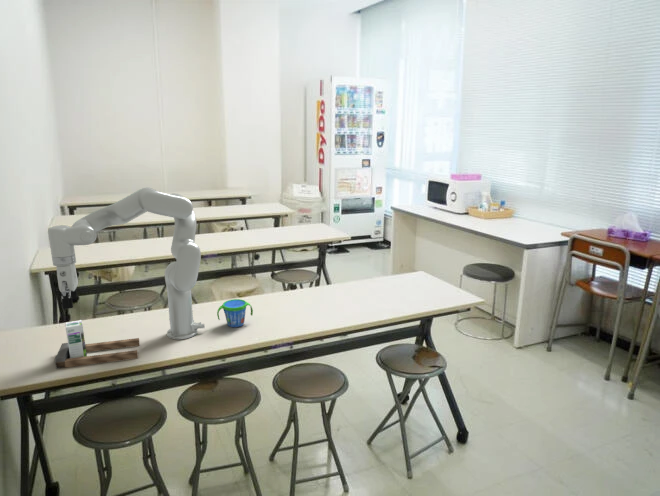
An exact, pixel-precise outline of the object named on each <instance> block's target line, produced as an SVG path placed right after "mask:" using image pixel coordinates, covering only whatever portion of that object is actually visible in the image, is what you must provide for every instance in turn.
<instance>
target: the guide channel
mask: <svg viewBox="0 0 660 496" xmlns="http://www.w3.org/2000/svg"><path fill="white" fill-rule="evenodd" d="M140 345H141V344H140V338H139V337H136V338H127V339H120V340H113V341H111V340H110V341H103V342H93V343H85V346H86V353H90V352H91V353H92V352H98V351H99V352H100V351H108V350H114V349H115V350H116V349H122V348H124V349H125V348H132V347H139V346H140ZM133 359H139V353H138V350H137V349H136V350H135V349H134V350H125V351H120V352H119V351H118V352H112V353H111V352H110V353H104V354H103V353H102V354H95V355H87V356H85V357H77V358H70V354H69V347H68V342H64V343H61V345H60V347H59V350H58V352H57V353H56V356H55V358H54V362H55V368H56V369H57V370H58V369H65V368H73V367H79V366H89V365H95V364H104V363H111V362H121V361H126V360H127V361H128V360H133Z"/></svg>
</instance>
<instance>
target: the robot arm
mask: <svg viewBox="0 0 660 496" xmlns="http://www.w3.org/2000/svg"><path fill="white" fill-rule="evenodd" d="M147 212H148V213H150V214H156V215H158V216H159V215H160V216H164V217H169V218H173V220H174V229H173V236H172V242H171V247H170V253H171V254H172V256H173V257H174V259H175V260H176V261H174V262H173V261H172V262H171V263H169V264H168V265H167V266H166V268H165V270H164V281H165V285H166V291H167V292H166V293H167V304H168V318H169V328H168V329H167V332H166V336H167V337H168V338H169V339H172V340H185V339H190V338H193V337H195V336H196V335H197V334H198V331H199V329H205V323H202V322H195V320H194V316H193V314H194V313H193V312H194V311H193V300H192V289H193V288H194V287H195V286H196V283H197V281H198V277H199V271H200V266H201V260H202V259H201V258H202V251H201V249H200V247H199V246H198V244H197V243H195V240H196V239H195V238H196V233H197V232H196V231H197V218H196V212H195V211H194V205H193V203H192V201H191V200H190V199H189V198H187V197H185V196H183V195H181V194H179V193H165V192H161V191H158V190H156V189H153V188H151V187H142V188H141V189H138V190H137V191H135V192H132V193H131V194H130V195H127V196H126V197H124V198H122V199H119V200H118V201H116V202H114V203H112V204H110V205H106V206H105V207H102V208H100V209H97V210H95V211H93V212H91V213H88V214H86V215H85V216H83V217H81V218H80V219H78V220H76V221H75V222H73V224H72V225H71V227H70V226H69V225H63V224H61V225H59V224H58V225H53V226H51V227H49V228H48V231H47V234H48V241H49V246H50V256H51V260H52V265H53V266H54V267H56V276H57V283H58V284H57V285H58V289H59V291H60V293H61V304H62V309H64V310H67V309H73V308H74V304H73V302H74V301H73V300H75V299H78V293H77V291H78V290H77V287H78V285H79V279H78V274H77V269H76V263H77V259H76V251H75V246H88V245H92V244H93V243H94V242H95V241H96V240H97V237H98V234H97V233H98V232H100V231H101V230H104V229H106V228H108V227H109V228H110V227H112V226H119V225H124V224H128V223H129V222H131V221H133V220H134V219H136V218H138V217H140V216H141V215H143V214H145V213H147Z"/></svg>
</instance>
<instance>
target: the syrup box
mask: <svg viewBox="0 0 660 496" xmlns="http://www.w3.org/2000/svg"><path fill="white" fill-rule="evenodd" d="M64 324H65V325H64V326H65V331H66V333H65V334H66V339H67V343H68V347H69V354H70V358H77V357H85V356H88V355H87V353H88V352H86V346H85V344H86V340H85V334H84V333H85V332H84V326H83V321H82V319H79V320H74V321H67V322H65V323H64Z"/></svg>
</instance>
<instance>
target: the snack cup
mask: <svg viewBox="0 0 660 496" xmlns="http://www.w3.org/2000/svg"><path fill="white" fill-rule="evenodd" d="M247 306H249V307H250V316H253V313H254V310H253V307H252V305H251V303H249V302H247V301H246V300H245V299H239V298H238V299H237V298H236V299H235V298H234V299H229V300H226V301H224V302H223V303H222V305H220V306H219V307H218V309H217V312H216V313H217V315H216V316H217V319H218V321H220V320H221V319H220V315H219V314H220V313H219V312H220V311H221V310H222V309H223V312H224V315H225V321H226V324H227V326H228V327H230V328H238V327H239V328H240V327H242V326H244V324H245V318H246V309H247Z"/></svg>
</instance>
